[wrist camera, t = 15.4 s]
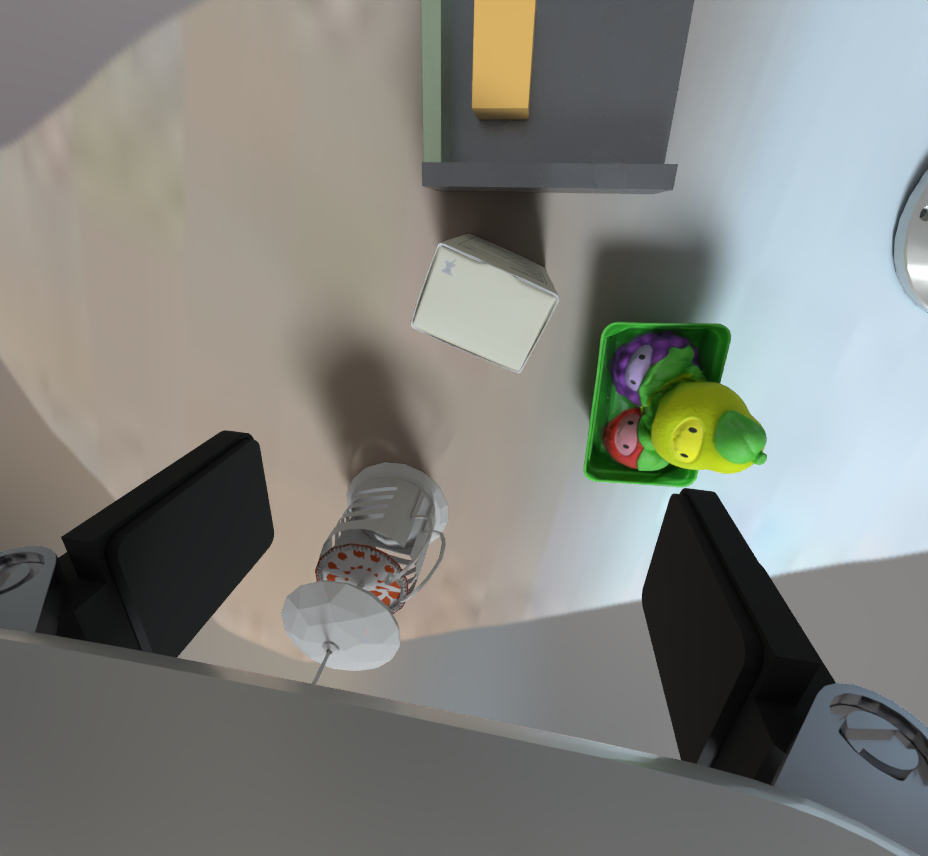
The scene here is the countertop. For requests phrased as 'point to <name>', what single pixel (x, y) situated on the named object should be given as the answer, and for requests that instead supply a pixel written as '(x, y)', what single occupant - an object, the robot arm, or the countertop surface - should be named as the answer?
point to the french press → (367, 569)
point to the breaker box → (559, 100)
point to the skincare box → (485, 301)
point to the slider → (502, 58)
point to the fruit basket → (667, 407)
